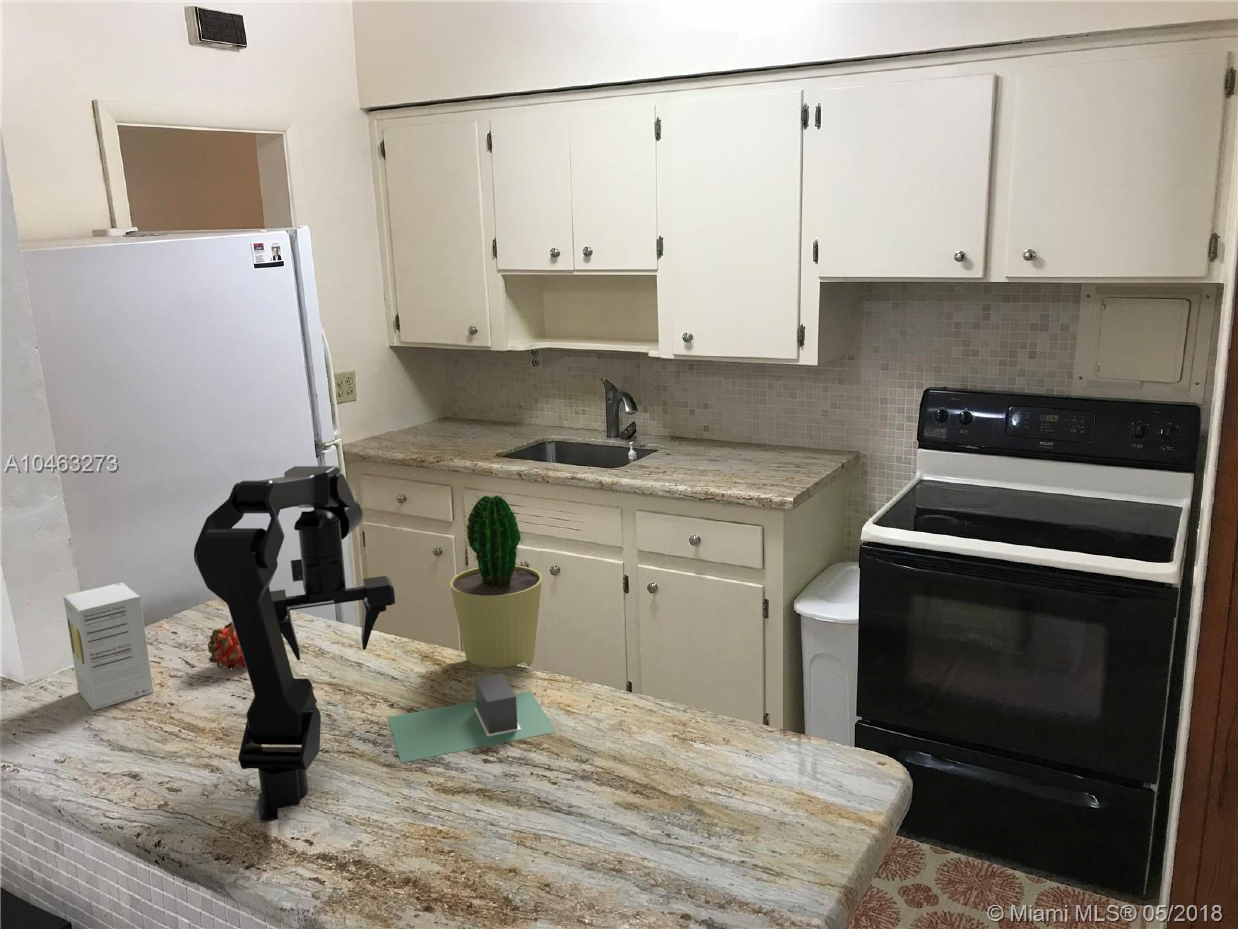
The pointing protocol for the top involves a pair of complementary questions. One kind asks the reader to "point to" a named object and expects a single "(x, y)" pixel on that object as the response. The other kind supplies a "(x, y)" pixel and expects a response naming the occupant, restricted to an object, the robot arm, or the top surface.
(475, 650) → the potted cactus
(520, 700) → the board
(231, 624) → the dragon fruit
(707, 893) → the top surface
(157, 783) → the top surface
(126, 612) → the supplement box
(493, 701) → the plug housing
